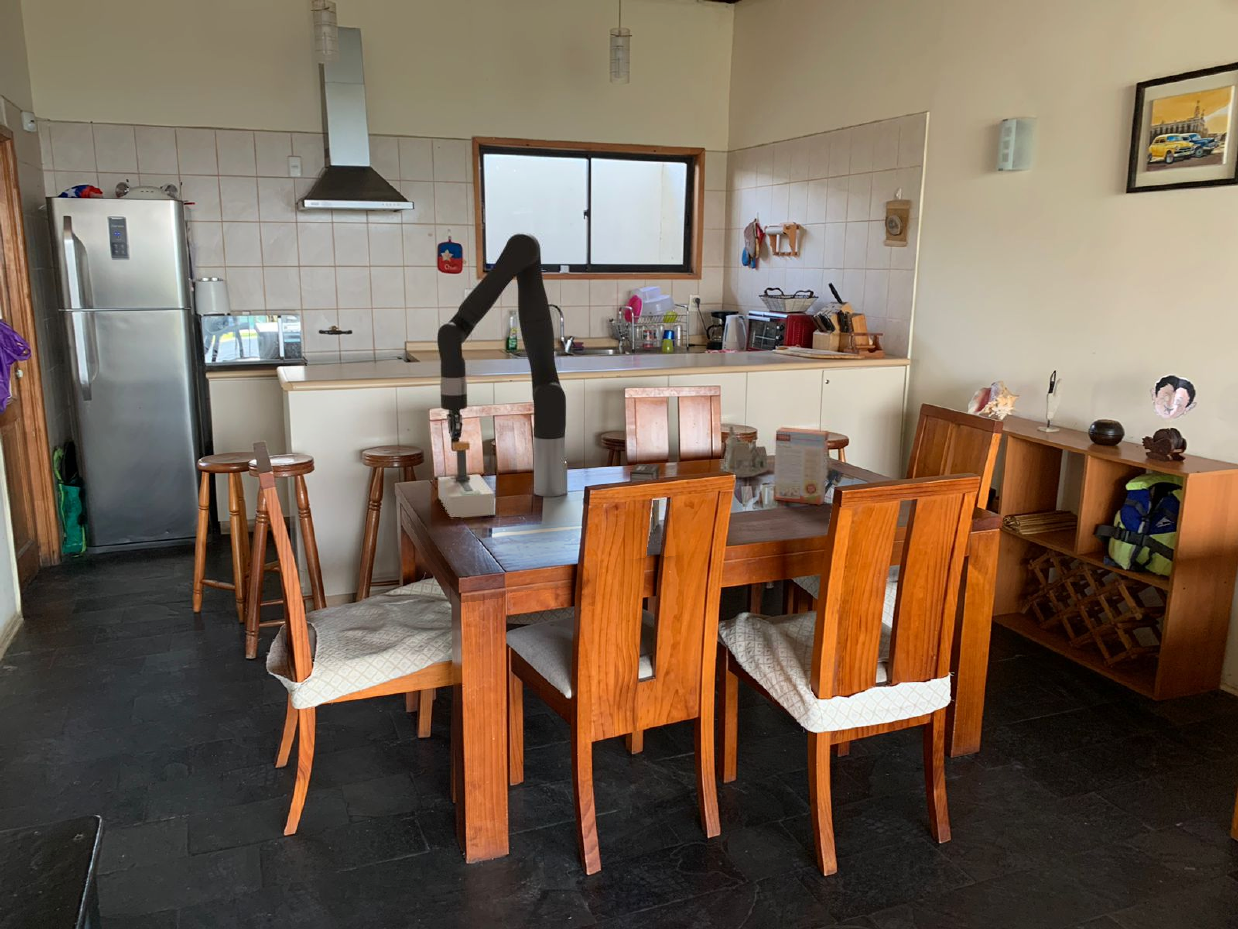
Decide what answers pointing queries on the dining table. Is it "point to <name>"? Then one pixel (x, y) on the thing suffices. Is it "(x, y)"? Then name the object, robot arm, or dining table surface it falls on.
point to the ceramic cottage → (743, 457)
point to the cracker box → (800, 465)
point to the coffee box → (647, 473)
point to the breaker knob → (461, 460)
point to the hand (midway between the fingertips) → (455, 450)
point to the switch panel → (466, 496)
